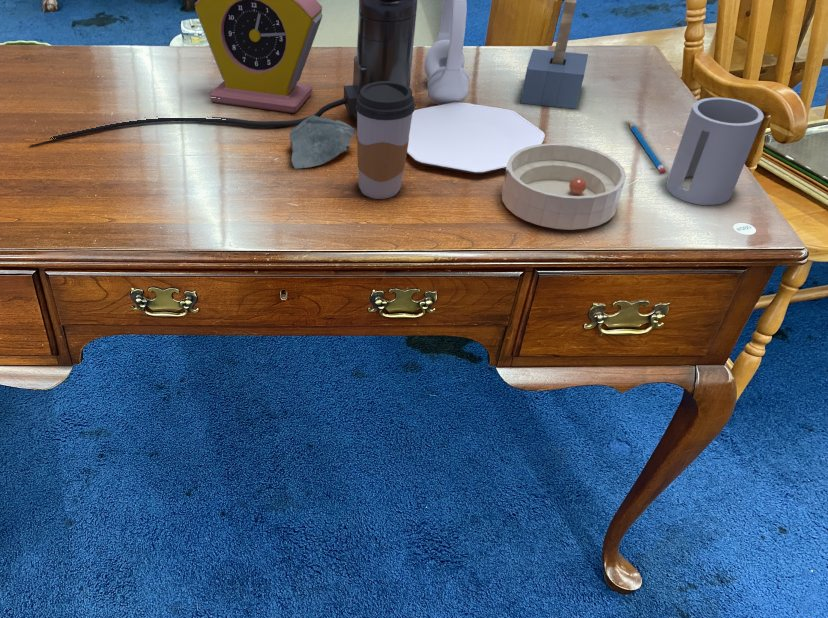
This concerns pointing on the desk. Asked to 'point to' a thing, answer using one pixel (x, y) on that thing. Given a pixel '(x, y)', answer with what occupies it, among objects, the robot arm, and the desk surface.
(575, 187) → the bead terracotta
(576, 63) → the stand
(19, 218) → the desk surface
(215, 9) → the yellow mantel clock
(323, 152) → the stone
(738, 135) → the cup
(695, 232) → the desk surface
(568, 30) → the stick
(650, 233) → the desk surface
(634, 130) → the pencil
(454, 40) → the headphones
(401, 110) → the coffee cup
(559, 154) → the bowl
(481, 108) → the plate
